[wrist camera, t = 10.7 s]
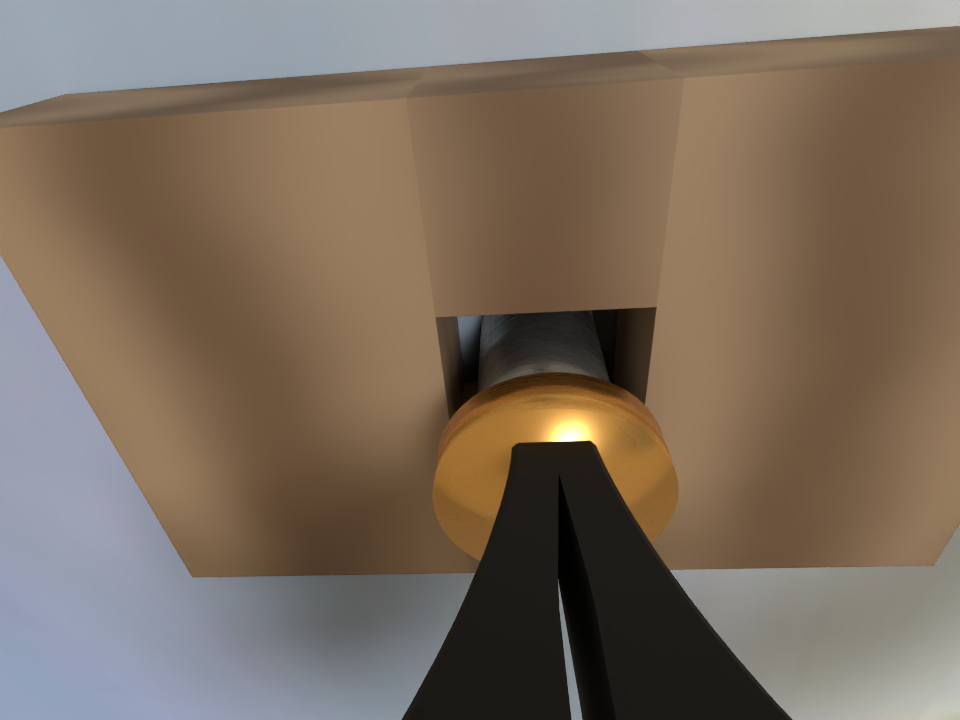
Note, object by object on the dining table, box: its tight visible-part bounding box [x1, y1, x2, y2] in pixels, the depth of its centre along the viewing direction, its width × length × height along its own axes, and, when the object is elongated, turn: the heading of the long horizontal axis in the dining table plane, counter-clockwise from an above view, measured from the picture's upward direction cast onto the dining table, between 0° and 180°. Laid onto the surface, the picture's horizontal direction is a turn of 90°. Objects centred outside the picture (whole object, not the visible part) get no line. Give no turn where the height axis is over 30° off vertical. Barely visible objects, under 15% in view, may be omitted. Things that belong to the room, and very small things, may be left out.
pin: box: [432, 310, 679, 561], centre depth 13 cm, size 4×4×6 cm
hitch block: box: [0, 26, 960, 577], centre depth 13 cm, size 20×12×4 cm, turn 94°
